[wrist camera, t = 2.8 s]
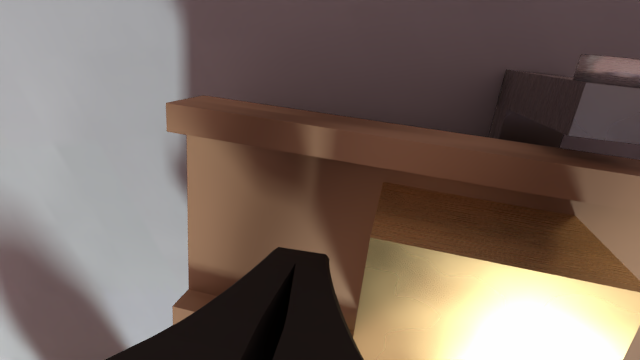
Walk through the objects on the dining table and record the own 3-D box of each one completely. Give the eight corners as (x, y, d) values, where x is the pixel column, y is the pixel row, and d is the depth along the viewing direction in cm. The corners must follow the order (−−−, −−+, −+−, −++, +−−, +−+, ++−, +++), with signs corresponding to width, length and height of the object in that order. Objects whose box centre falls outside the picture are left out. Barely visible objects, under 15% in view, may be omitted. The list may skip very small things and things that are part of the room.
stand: (572, 58, 13) (694, 64, 8) (479, 348, 17) (524, 463, 12) (511, 51, 13) (595, 53, 8) (434, 340, 17) (461, 452, 12)
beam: (1088, 226, 8) (1279, 275, 7) (880, 460, 11) (974, 542, 9) (203, 95, 12) (166, 102, 10) (203, 291, 15) (173, 325, 13)
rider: (575, 215, 10) (654, 295, 7) (524, 353, 11) (567, 472, 8) (383, 181, 11) (369, 237, 8) (360, 313, 12) (341, 407, 9)
